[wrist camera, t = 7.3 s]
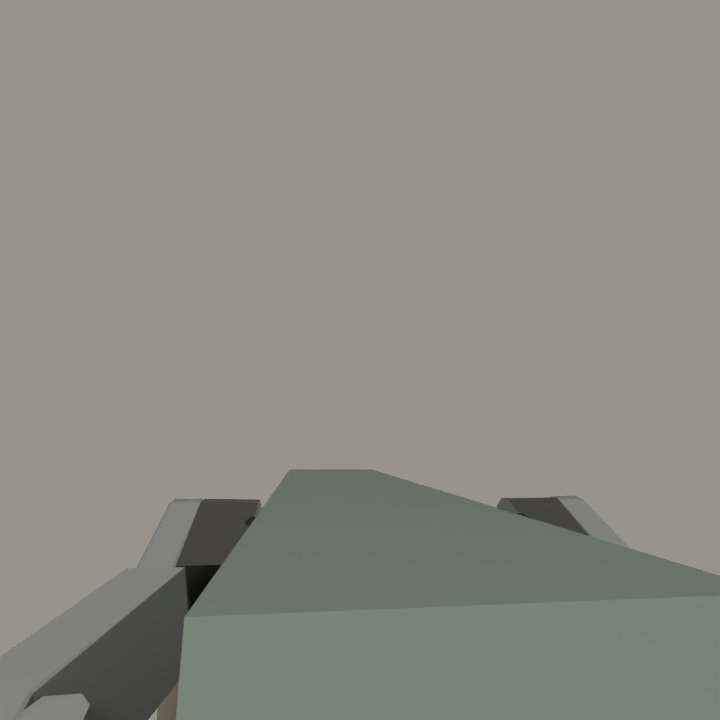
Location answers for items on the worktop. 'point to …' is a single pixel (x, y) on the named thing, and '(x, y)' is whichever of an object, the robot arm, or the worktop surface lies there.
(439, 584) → the pale green bar
